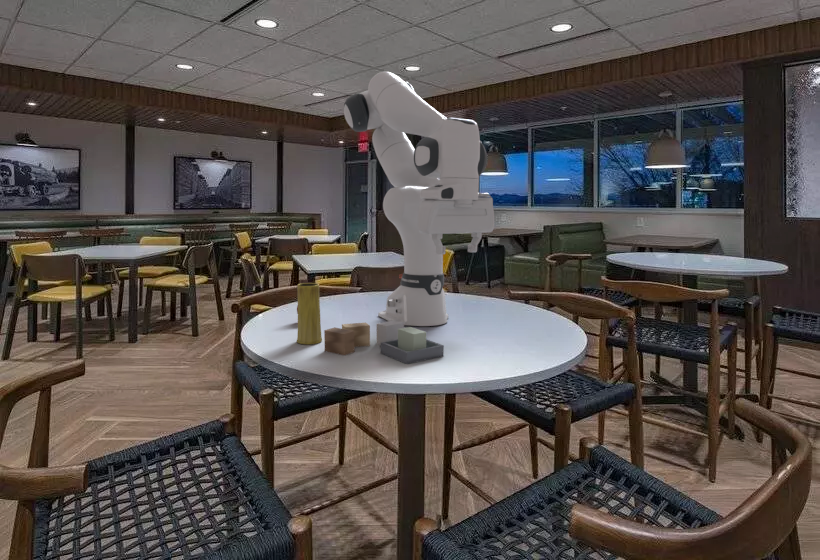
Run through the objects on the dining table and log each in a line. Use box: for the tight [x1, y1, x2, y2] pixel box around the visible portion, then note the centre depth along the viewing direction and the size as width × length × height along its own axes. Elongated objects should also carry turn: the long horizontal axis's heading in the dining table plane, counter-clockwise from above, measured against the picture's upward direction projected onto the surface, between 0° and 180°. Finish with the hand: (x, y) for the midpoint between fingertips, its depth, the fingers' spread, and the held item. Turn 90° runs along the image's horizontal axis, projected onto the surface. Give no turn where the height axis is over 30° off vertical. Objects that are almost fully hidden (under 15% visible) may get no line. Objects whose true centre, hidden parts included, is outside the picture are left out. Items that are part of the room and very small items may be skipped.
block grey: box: [376, 320, 405, 345], centre depth 127 cm, size 6×4×5 cm, turn 136°
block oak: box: [341, 322, 371, 348], centre depth 125 cm, size 6×4×5 cm, turn 111°
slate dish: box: [379, 339, 445, 365], centre depth 117 cm, size 10×10×2 cm
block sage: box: [398, 326, 427, 352], centre depth 117 cm, size 6×4×5 cm, turn 37°
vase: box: [296, 282, 323, 346], centre depth 127 cm, size 6×6×14 cm
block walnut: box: [323, 327, 355, 356], centre depth 119 cm, size 6×4×5 cm, turn 57°
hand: (456, 253), depth 119 cm, fingers open, 8 cm apart
